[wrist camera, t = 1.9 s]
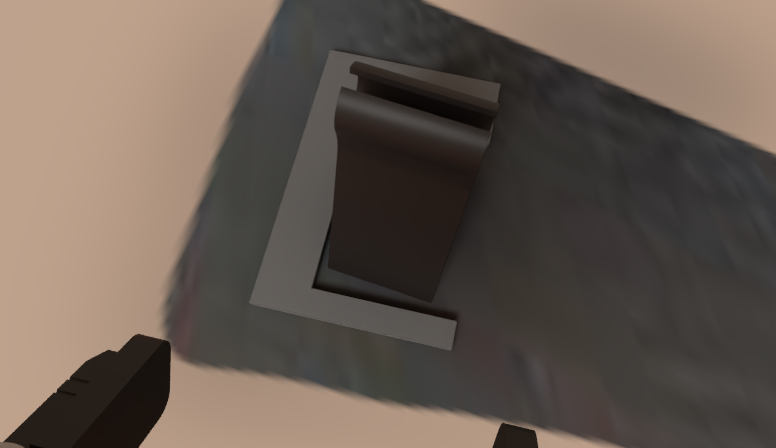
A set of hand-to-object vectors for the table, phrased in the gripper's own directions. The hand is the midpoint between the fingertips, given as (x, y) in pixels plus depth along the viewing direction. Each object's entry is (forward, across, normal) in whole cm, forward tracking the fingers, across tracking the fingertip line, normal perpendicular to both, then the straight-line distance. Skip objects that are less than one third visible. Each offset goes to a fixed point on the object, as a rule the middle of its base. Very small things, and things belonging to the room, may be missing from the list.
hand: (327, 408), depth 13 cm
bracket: (+21, +1, +2) cm, 21 cm away
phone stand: (+20, 0, +3) cm, 20 cm away
